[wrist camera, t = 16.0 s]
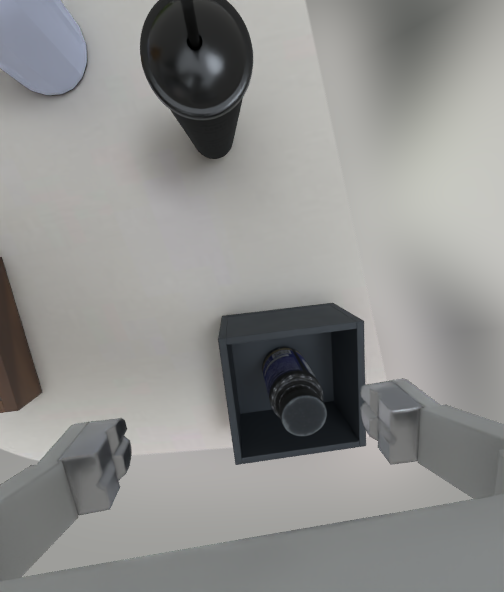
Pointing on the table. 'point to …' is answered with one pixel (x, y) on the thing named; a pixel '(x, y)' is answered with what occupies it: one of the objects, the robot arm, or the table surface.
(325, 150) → the table surface
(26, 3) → the soap bottle
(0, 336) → the brown wooden caddy
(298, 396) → the pill bottle
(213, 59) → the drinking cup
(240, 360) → the open square box
